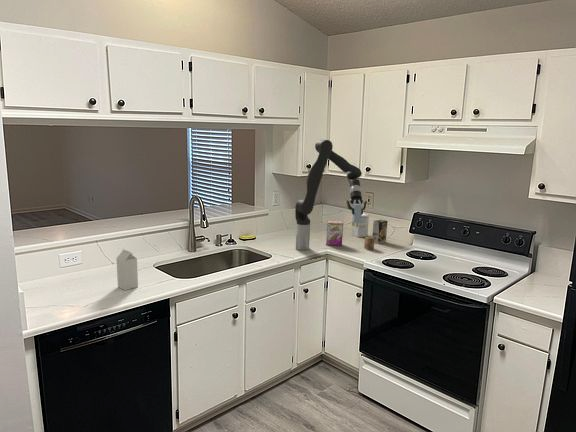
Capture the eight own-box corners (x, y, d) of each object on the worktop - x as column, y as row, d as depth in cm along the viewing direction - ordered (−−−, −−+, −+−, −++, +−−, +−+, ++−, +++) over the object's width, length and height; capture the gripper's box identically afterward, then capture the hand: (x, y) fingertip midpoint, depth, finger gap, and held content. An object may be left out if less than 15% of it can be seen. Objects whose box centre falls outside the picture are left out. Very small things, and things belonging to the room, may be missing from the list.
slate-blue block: (353, 222, 292) (354, 204, 290) (352, 221, 297) (353, 203, 294) (360, 222, 292) (361, 204, 290) (359, 221, 297) (360, 203, 295)
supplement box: (350, 234, 347) (352, 213, 344) (360, 233, 351) (362, 212, 348) (357, 237, 339) (359, 215, 335) (367, 236, 343) (369, 214, 339)
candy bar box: (326, 245, 313) (327, 222, 310) (326, 243, 318) (327, 220, 315) (342, 246, 312) (343, 223, 309) (342, 244, 317) (343, 221, 314)
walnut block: (366, 250, 304) (367, 238, 302) (364, 248, 309) (365, 236, 307) (373, 249, 305) (374, 238, 303) (371, 247, 309) (371, 236, 308)
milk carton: (124, 290, 218) (123, 253, 214) (117, 287, 222) (115, 250, 218) (138, 287, 223) (136, 250, 219) (130, 283, 227) (129, 247, 224)
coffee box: (378, 244, 320) (380, 222, 317) (371, 242, 325) (373, 220, 322) (386, 242, 326) (388, 220, 323) (379, 240, 331) (380, 219, 328)
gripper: (346, 189, 298) (347, 210, 288) (367, 190, 298) (369, 211, 289) (344, 196, 304) (346, 217, 295) (365, 197, 304) (367, 217, 295)
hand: (357, 214), depth 292 cm, fingers closed on slate-blue block, 4 cm apart
